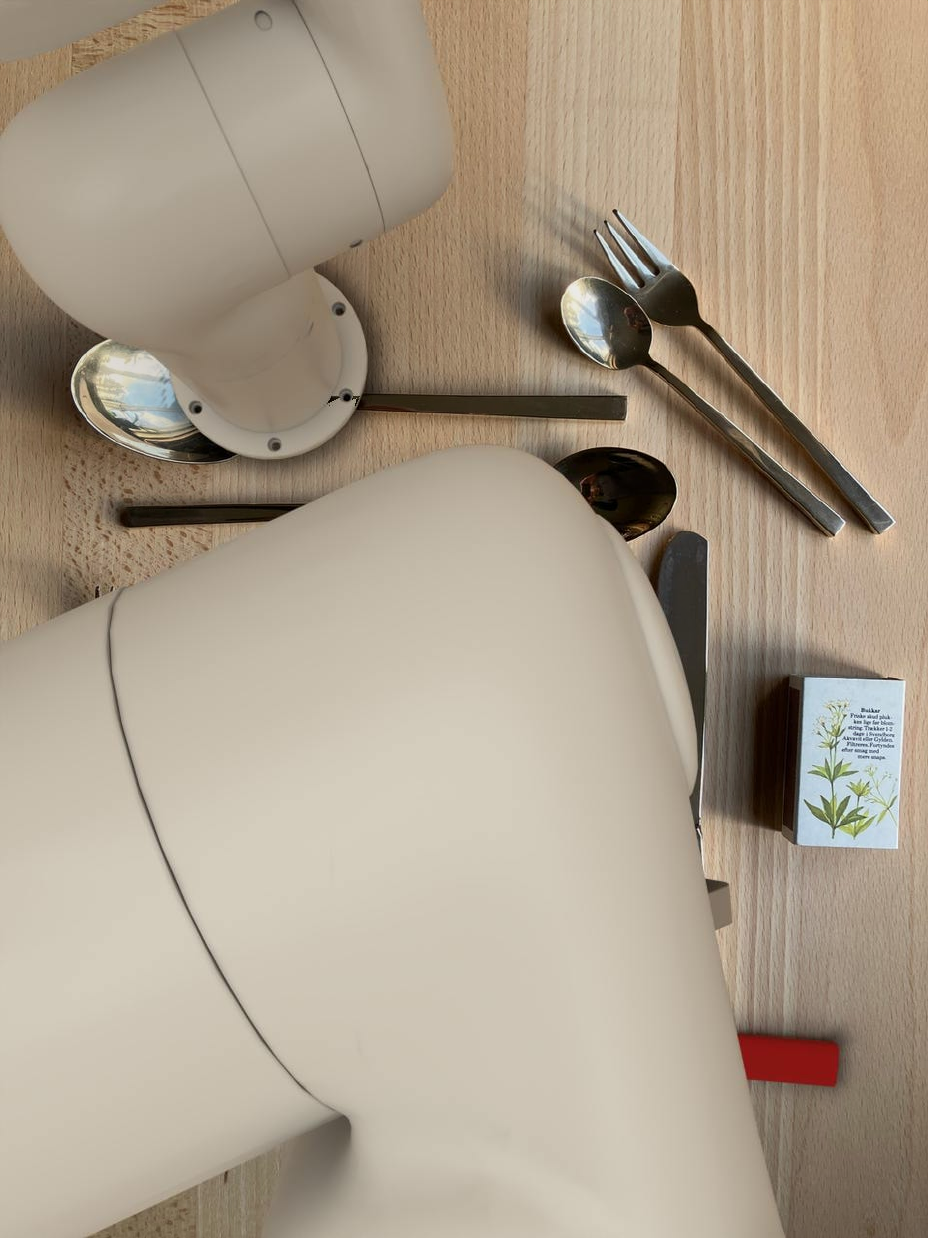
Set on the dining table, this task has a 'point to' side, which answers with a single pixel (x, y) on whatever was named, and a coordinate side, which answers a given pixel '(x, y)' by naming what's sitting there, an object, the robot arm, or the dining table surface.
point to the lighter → (789, 1060)
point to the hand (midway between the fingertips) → (471, 868)
